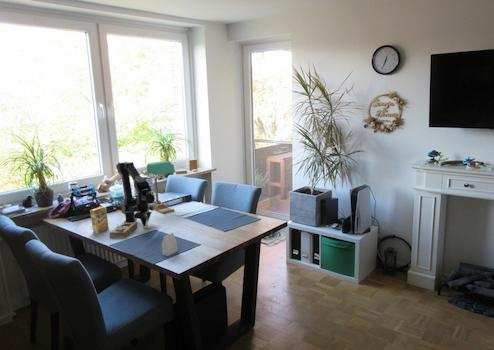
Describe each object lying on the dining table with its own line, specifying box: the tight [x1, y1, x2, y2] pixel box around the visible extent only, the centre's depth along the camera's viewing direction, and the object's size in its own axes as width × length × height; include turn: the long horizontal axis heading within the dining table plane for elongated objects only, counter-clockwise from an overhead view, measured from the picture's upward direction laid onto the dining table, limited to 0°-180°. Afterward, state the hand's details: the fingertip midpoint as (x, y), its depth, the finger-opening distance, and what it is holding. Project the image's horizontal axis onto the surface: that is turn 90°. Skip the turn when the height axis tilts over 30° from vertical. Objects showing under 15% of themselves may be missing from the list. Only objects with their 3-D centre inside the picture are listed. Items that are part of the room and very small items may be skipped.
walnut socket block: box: [109, 222, 138, 239], centre depth 232 cm, size 18×9×4 cm, turn 174°
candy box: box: [89, 205, 110, 234], centre depth 236 cm, size 9×4×15 cm, turn 150°
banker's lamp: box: [146, 160, 176, 215], centre depth 276 cm, size 16×21×35 cm
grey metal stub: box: [116, 223, 123, 231], centre depth 227 cm, size 3×3×6 cm
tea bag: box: [161, 232, 178, 257], centre depth 199 cm, size 4×7×10 cm, turn 146°
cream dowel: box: [142, 214, 149, 229], centre depth 239 cm, size 3×3×9 cm
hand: (145, 225), depth 240 cm, fingers closed on cream dowel, 3 cm apart
